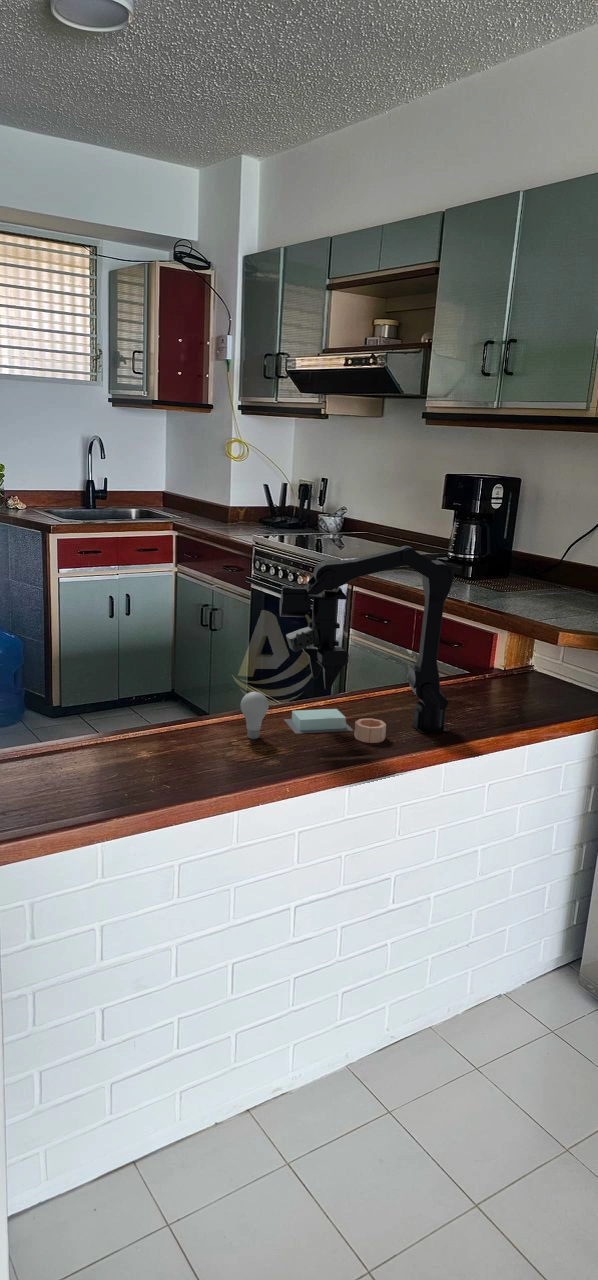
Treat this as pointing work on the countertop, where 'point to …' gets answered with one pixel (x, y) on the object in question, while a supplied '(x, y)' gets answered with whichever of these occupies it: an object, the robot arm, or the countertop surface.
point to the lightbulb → (254, 712)
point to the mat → (296, 730)
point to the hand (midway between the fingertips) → (321, 683)
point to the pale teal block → (318, 719)
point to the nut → (370, 730)
